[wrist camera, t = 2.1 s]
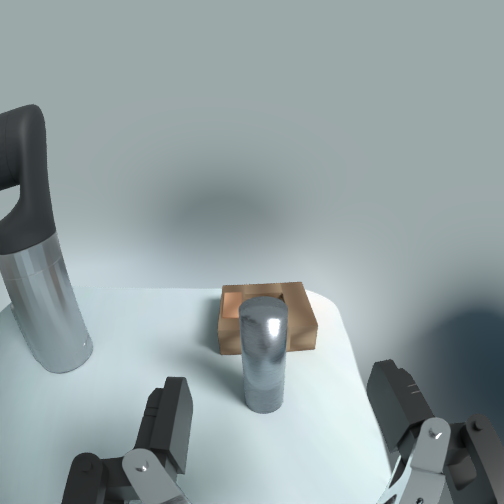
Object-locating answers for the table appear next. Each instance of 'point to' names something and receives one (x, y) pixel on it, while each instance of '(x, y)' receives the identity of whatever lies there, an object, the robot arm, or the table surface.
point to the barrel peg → (263, 351)
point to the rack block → (292, 294)
